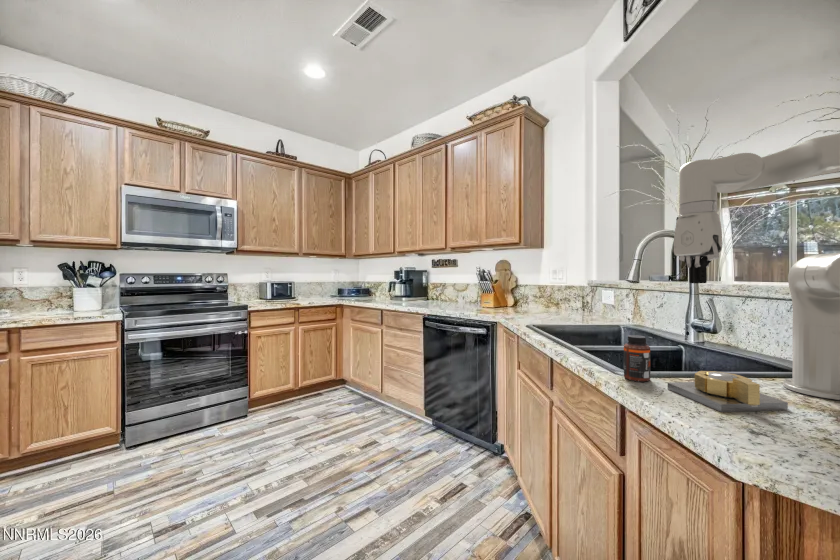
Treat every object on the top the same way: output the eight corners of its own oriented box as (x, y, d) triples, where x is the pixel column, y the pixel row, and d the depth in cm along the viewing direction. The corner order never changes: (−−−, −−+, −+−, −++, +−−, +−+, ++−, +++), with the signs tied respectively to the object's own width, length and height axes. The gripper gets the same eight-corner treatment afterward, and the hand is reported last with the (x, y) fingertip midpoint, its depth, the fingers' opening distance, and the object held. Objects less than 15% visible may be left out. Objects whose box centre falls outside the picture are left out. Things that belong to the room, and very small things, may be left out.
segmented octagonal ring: (687, 383, 81) (687, 366, 81) (729, 384, 80) (729, 367, 80) (728, 403, 68) (728, 383, 68) (779, 405, 67) (780, 385, 67)
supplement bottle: (654, 383, 87) (654, 338, 87) (628, 382, 89) (628, 337, 88) (644, 376, 93) (644, 334, 93) (620, 375, 94) (620, 334, 94)
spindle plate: (723, 387, 84) (723, 365, 84) (796, 412, 68) (796, 386, 68) (667, 388, 83) (667, 367, 83) (727, 414, 68) (727, 388, 67)
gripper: (661, 216, 95) (661, 282, 95) (709, 205, 80) (709, 284, 81) (687, 215, 96) (687, 282, 96) (740, 204, 81) (740, 283, 81)
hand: (697, 283), depth 88 cm, fingers closed
